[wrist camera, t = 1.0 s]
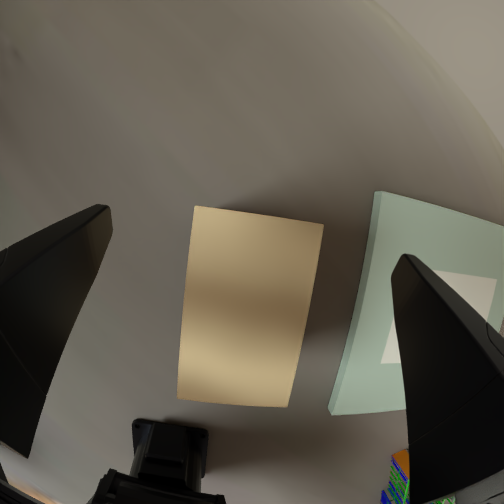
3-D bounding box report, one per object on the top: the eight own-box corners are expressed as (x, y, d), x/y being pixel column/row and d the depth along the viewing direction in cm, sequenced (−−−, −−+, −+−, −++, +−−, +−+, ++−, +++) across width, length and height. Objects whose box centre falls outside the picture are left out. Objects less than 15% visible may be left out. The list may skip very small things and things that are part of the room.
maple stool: (268, 353, 23) (287, 407, 16) (187, 345, 22) (176, 398, 15) (291, 218, 22) (323, 224, 15) (203, 205, 21) (194, 205, 14)
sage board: (469, 391, 26) (475, 396, 25) (327, 407, 24) (331, 415, 23) (512, 231, 24) (520, 232, 23) (374, 191, 22) (382, 191, 21)
